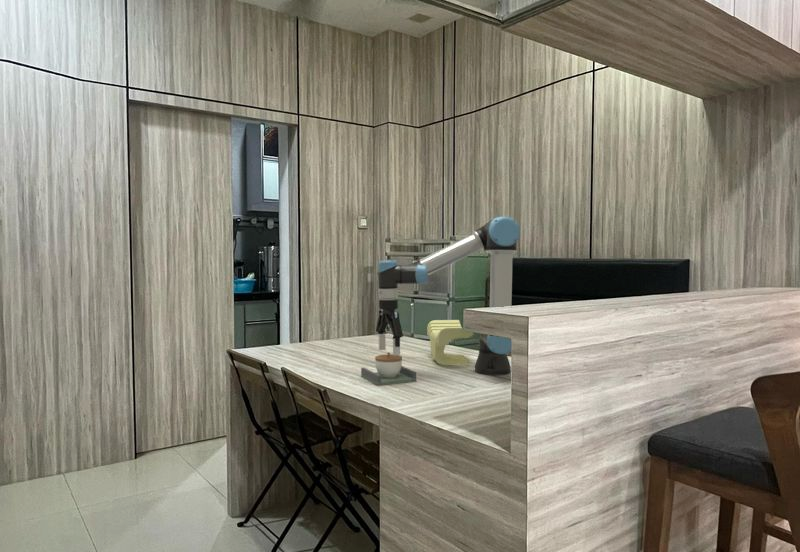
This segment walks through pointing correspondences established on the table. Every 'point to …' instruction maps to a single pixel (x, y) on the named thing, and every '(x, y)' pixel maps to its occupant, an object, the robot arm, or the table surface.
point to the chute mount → (401, 377)
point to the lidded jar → (388, 365)
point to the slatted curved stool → (446, 340)
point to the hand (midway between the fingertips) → (389, 352)
